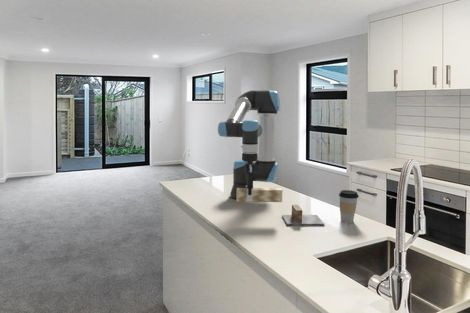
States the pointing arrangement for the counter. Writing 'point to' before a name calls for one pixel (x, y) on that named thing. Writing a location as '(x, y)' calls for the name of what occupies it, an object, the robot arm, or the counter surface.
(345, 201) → the coffee cup
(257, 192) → the beech bar
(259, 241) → the counter surface
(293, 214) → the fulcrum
